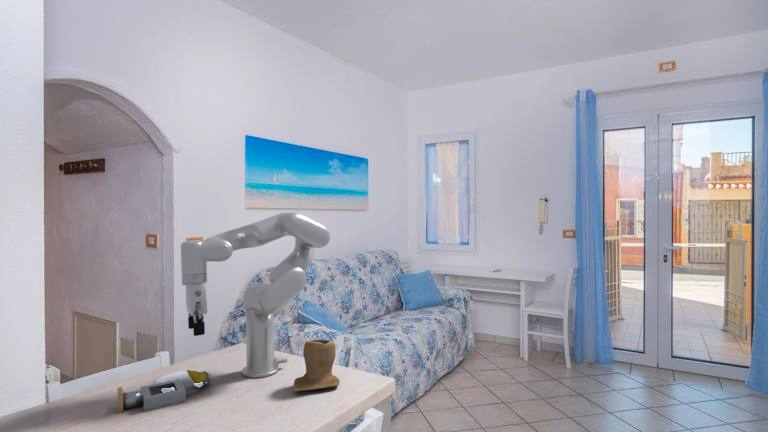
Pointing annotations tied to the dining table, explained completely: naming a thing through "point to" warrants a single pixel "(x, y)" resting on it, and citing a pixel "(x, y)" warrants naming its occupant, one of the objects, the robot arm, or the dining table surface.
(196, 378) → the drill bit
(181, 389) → the fitting
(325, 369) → the brown hollow boot figurine
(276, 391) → the dining table surface
